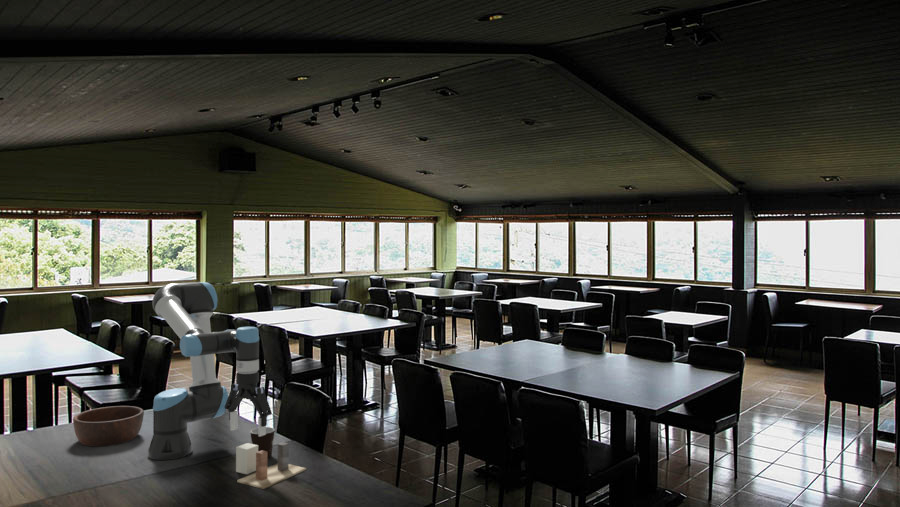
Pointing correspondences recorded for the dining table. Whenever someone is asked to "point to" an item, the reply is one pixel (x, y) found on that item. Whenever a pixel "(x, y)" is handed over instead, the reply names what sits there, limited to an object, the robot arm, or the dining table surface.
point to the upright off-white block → (246, 458)
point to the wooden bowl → (108, 425)
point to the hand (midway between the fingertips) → (247, 432)
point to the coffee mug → (263, 440)
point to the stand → (271, 469)
